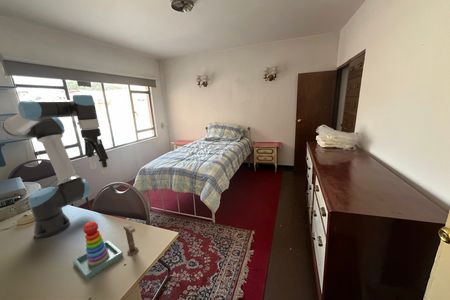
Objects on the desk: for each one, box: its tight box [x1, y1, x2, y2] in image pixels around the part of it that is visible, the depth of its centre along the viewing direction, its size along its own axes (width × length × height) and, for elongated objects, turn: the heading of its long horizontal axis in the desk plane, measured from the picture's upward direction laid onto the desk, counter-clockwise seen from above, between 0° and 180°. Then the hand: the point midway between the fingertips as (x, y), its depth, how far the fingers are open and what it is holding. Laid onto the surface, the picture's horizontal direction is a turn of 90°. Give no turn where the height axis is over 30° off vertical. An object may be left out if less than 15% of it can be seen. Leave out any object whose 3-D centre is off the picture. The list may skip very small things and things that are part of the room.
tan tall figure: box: [123, 223, 139, 256], centre depth 85 cm, size 6×4×14 cm
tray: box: [72, 239, 124, 281], centre depth 83 cm, size 14×14×2 cm
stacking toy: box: [82, 221, 109, 266], centre depth 81 cm, size 8×8×19 cm
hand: (99, 171), depth 94 cm, fingers open, 13 cm apart
